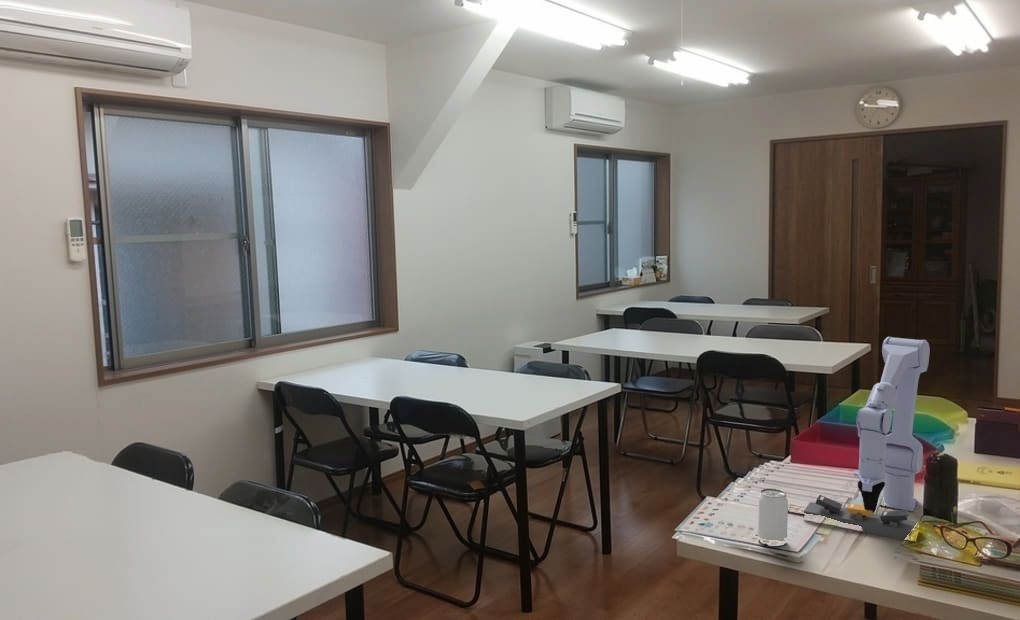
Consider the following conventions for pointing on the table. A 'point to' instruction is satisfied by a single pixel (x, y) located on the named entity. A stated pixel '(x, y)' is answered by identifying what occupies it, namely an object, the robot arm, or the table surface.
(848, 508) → the orange rocker
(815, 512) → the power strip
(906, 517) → the black rocker
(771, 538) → the can
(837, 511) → the black rocker
